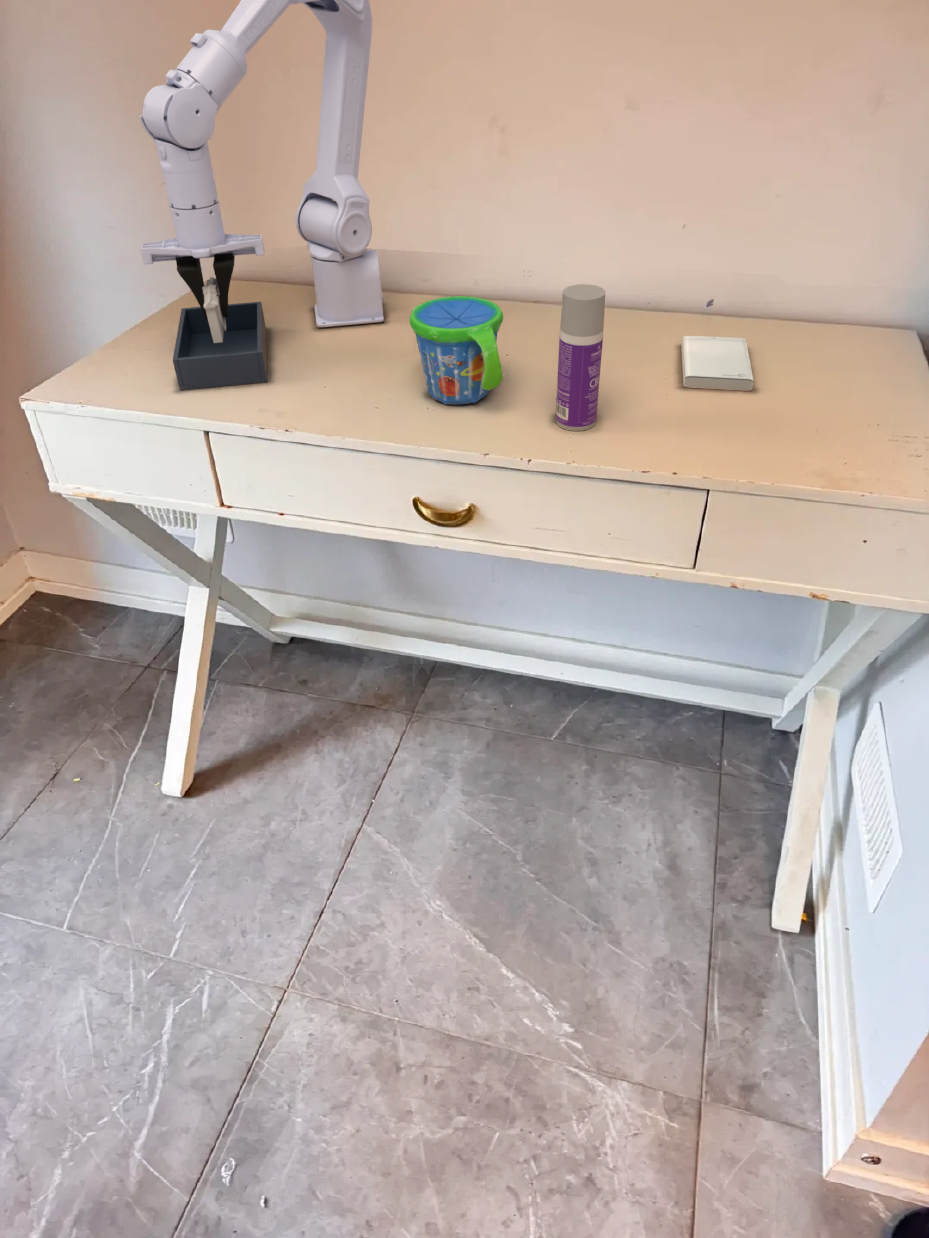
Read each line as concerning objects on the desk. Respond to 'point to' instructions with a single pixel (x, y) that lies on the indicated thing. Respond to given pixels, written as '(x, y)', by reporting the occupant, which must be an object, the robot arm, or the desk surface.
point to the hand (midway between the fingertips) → (216, 315)
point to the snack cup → (458, 347)
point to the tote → (221, 349)
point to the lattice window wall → (214, 310)
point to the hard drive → (716, 363)
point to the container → (579, 356)
